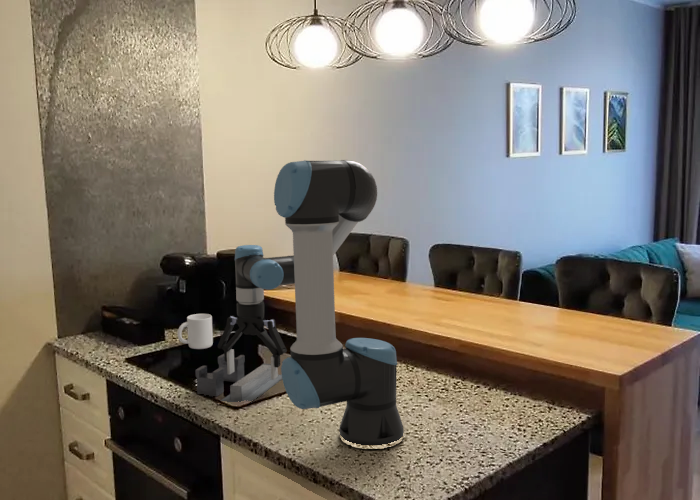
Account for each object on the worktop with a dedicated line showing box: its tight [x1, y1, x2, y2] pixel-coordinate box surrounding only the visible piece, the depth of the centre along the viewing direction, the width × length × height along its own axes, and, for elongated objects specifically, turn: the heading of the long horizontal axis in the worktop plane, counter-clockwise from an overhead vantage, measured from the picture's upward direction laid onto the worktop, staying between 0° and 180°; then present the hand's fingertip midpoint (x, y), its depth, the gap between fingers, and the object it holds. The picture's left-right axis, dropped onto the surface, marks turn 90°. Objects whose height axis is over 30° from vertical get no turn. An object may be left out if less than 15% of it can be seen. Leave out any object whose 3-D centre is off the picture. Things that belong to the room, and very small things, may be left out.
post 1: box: [194, 365, 225, 398], centre depth 190 cm, size 4×7×7 cm, turn 71°
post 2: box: [217, 353, 246, 383], centre depth 202 cm, size 4×7×7 cm, turn 70°
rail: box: [229, 362, 271, 402], centre depth 193 cm, size 20×3×4 cm, turn 160°
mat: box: [220, 374, 283, 402], centre depth 193 cm, size 26×8×1 cm, turn 160°
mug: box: [177, 313, 214, 350], centre depth 234 cm, size 12×8×10 cm
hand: (252, 375), depth 193 cm, fingers open, 13 cm apart
